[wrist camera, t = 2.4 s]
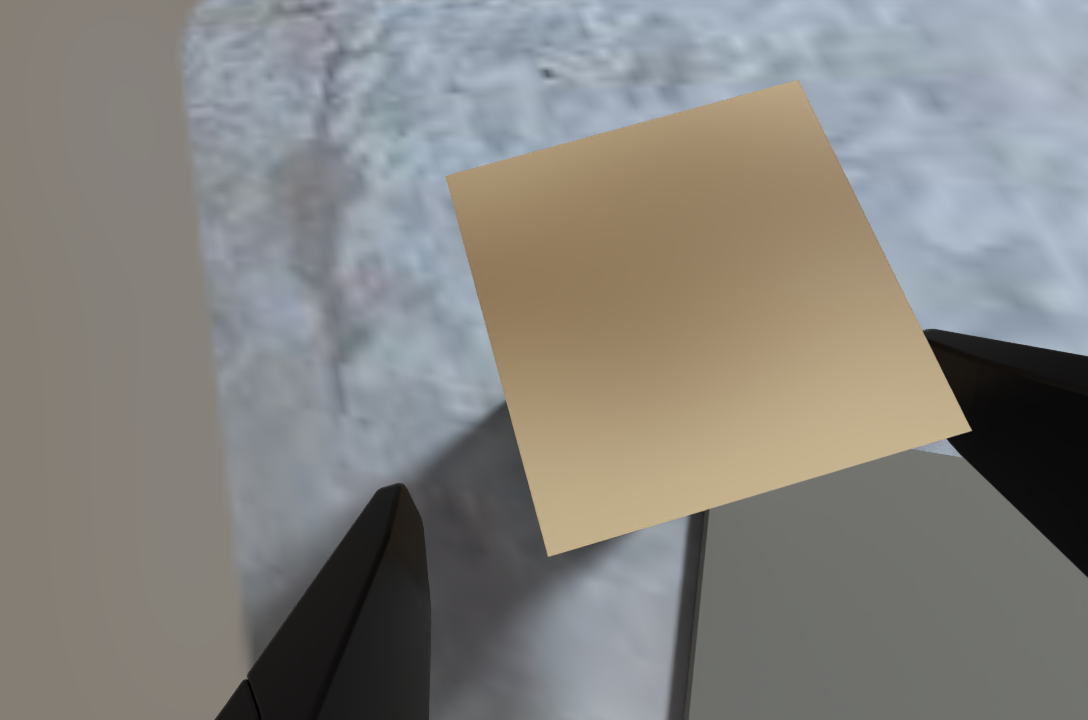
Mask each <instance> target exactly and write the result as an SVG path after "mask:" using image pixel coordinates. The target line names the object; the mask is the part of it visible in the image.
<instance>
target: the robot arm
mask: <svg viewBox="0 0 1088 720" xmlns="http://www.w3.org/2000/svg"><path fill="white" fill-rule="evenodd" d="M923 333H924V335H925V337H926V339H927V341H928V343H929V345H930V347H931V349H932V351H933V353H934V355H935V357H936V359H937V361H938V363H939V365H940V368H941V370H942V372H943V374H944V376H945V378H946V380H947V382H948V384H949V386H950V388H951V390H952V392H953V394H954V396H955V398H956V400H957V402H958V404H959V406H960V408H961V410H962V412H963V414H964V416H965V418H966V420H967V422H968V424H969V426H970V428H971V430H972V431H970V432H966V433H963V434H959V435H956V436H953V437H949V438H946V439H947V440H948V441H949V442H950V444H951V445H952V446H953V447H954V448H955V449H956V450H957V451H958V452H959V454H960V455H961V456H962V457H963V458H964V459H965V460H966V461H967V462H968V463H969V464H970V465H971V466H972V467H973V468H974V469H975V470H976V471H978V472H979V473H980V474H981V475H982V476H983V477H984V478H985V479H986V480H987V481H988V482H989V483H990V484H991V485H992V486H993V487H994V488H995V489H996V490H997V491H998V492H999V493H1000V494H1001V495H1002V496H1003V497H1004V498H1005V499H1006V500H1008V501H1009V502H1010V503H1011V504H1012V505H1013V506H1014V507H1015V508H1016V509H1017V510H1018V511H1019V512H1020V513H1021V514H1022V515H1023V516H1024V517H1025V518H1026V519H1027V520H1028V521H1029V522H1030V523H1031V524H1032V525H1033V526H1034V527H1035V528H1037V529H1038V530H1039V531H1040V532H1041V533H1042V534H1043V535H1044V536H1045V537H1046V538H1047V539H1048V540H1049V541H1050V542H1051V543H1052V544H1053V545H1054V546H1055V547H1056V548H1057V549H1058V550H1059V551H1060V552H1061V553H1062V554H1063V555H1064V556H1065V557H1067V558H1068V559H1069V560H1070V561H1071V562H1072V563H1073V564H1074V565H1075V566H1076V567H1077V568H1078V569H1079V570H1080V571H1081V572H1082V573H1083V574H1084V575H1085V576H1086V577H1087V578H1088V356H1084V355H1078V354H1072V353H1067V352H1061V351H1056V350H1050V349H1044V348H1039V347H1033V346H1027V345H1022V344H1016V343H1011V342H1005V341H999V340H994V339H988V338H983V337H977V336H971V335H966V334H960V333H954V332H949V331H943V330H938V329H926V330H923ZM430 656H431V603H430V591H429V581H428V570H427V560H426V549H425V539H424V528H423V523H422V519H421V516H420V514H419V512H418V510H417V508H416V506H415V504H414V502H413V500H412V498H411V496H410V494H409V492H408V489H407V488H406V486H405V485H404V484H402V483H396V484H393V485H389V486H386V487H383V488H380V489H379V490H378V491H377V492H376V493H375V494H374V496H373V497H372V499H371V500H370V501H369V503H368V504H367V506H366V507H365V508H364V510H363V511H362V513H361V514H360V516H359V517H358V518H357V520H356V521H355V523H354V524H353V525H352V527H351V528H350V530H349V531H348V533H347V534H346V535H345V537H344V538H343V540H342V541H341V542H340V544H339V545H338V547H337V548H336V550H335V551H334V552H333V554H332V555H331V557H330V558H329V559H328V561H327V562H326V564H325V565H324V567H323V568H322V569H321V571H320V572H319V574H318V575H317V576H316V578H315V579H314V581H313V582H312V583H311V585H310V586H309V588H308V589H307V591H306V592H305V593H304V595H303V596H302V598H301V599H300V600H299V602H298V603H297V605H296V606H295V608H294V609H293V610H292V612H291V613H290V615H289V616H288V617H287V619H286V620H285V622H284V623H283V625H282V626H281V627H280V629H279V630H278V632H277V633H276V634H275V636H274V637H273V639H272V640H271V642H270V643H269V644H268V646H267V647H266V649H265V650H264V651H263V653H262V654H261V656H260V657H259V659H258V660H257V661H256V663H255V664H254V666H253V667H252V668H251V670H250V671H249V673H248V674H247V678H248V680H247V679H245V680H243V681H242V682H241V684H240V685H239V687H238V688H237V689H236V691H235V692H234V694H233V695H232V696H231V698H230V699H229V701H228V702H227V704H226V705H225V706H224V708H223V709H222V710H221V712H220V713H219V715H218V716H217V717H216V719H215V720H429V699H430Z"/></svg>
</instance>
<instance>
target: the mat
mask: <svg viewBox="0 0 1088 720" xmlns="http://www.w3.org/2000/svg"><path fill="white" fill-rule="evenodd" d="M683 720H1088V578H1087V577H1086V576H1085V575H1084V574H1083V573H1082V572H1081V571H1080V570H1079V569H1078V568H1077V567H1076V566H1075V565H1074V564H1073V563H1072V562H1071V561H1070V560H1069V559H1068V558H1067V557H1065V556H1064V555H1063V554H1062V553H1061V552H1060V551H1059V550H1058V549H1057V548H1056V547H1055V546H1054V545H1053V544H1052V543H1051V542H1050V541H1049V540H1048V539H1047V538H1046V537H1045V536H1044V535H1043V534H1042V533H1041V532H1040V531H1039V530H1038V529H1037V528H1035V527H1034V526H1033V525H1032V524H1031V523H1030V522H1029V521H1028V520H1027V519H1026V518H1025V517H1024V516H1023V515H1022V514H1021V513H1020V512H1019V511H1018V510H1017V509H1016V508H1015V507H1014V506H1013V505H1012V504H1011V503H1010V502H1009V501H1008V500H1006V499H1005V498H1004V497H1003V496H1002V495H1001V494H1000V493H999V492H998V491H997V490H996V489H995V488H994V487H993V486H992V485H991V484H990V483H989V482H988V481H987V480H986V479H985V478H984V477H983V476H982V475H981V474H980V473H979V472H978V471H976V470H975V469H974V468H973V467H972V466H971V465H970V464H969V463H968V462H967V461H966V460H965V459H964V458H961V457H955V456H949V455H943V454H937V453H931V452H925V451H919V450H913V449H909V450H906V451H902V452H899V453H896V454H892V455H889V456H886V457H882V458H879V459H876V460H872V461H869V462H865V463H862V464H859V465H855V466H852V467H849V468H845V469H842V470H839V471H835V472H832V473H828V474H825V475H822V476H818V477H815V478H812V479H808V480H805V481H802V482H798V483H795V484H792V485H788V486H785V487H781V488H778V489H775V490H771V491H768V492H765V493H761V494H758V495H755V496H751V497H748V498H745V499H741V500H738V501H734V502H731V503H728V504H724V505H721V506H718V507H714V508H711V509H708V510H705V512H704V522H703V531H702V541H701V551H700V561H699V571H698V581H697V591H696V601H695V611H694V620H693V630H692V640H691V650H690V660H689V670H688V680H687V690H686V700H685V709H684V719H683Z"/></svg>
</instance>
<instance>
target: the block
mask: <svg viewBox="0 0 1088 720" xmlns="http://www.w3.org/2000/svg"><path fill="white" fill-rule="evenodd" d="M446 180H447V183H448V187H449V191H450V194H451V198H452V202H453V206H454V209H455V213H456V217H457V220H458V224H459V228H460V232H461V235H462V239H463V243H464V246H465V250H466V254H467V258H468V261H469V265H470V269H471V272H472V276H473V280H474V284H475V287H476V291H477V295H478V298H479V302H480V306H481V309H482V313H483V317H484V321H485V324H486V328H487V332H488V335H489V339H490V343H491V347H492V350H493V354H494V358H495V361H496V365H497V369H498V373H499V376H500V380H501V384H502V387H503V391H504V395H505V399H506V402H507V406H508V410H509V413H510V417H511V421H512V424H513V428H514V432H515V436H516V439H517V443H518V447H519V450H520V454H521V458H522V462H523V465H524V469H525V473H526V476H527V480H528V484H529V488H530V491H531V495H532V499H533V502H534V506H535V510H536V514H537V517H538V521H539V525H540V528H541V532H542V536H543V539H544V543H545V547H546V551H547V554H548V557H550V556H553V555H556V554H560V553H563V552H566V551H570V550H573V549H577V548H580V547H583V546H587V545H590V544H593V543H597V542H600V541H603V540H607V539H610V538H614V537H617V536H620V535H624V534H627V533H630V532H634V531H637V530H640V529H644V528H647V527H650V526H654V525H657V524H661V523H664V522H667V521H671V520H674V519H677V518H681V517H684V516H687V515H691V514H694V513H697V512H701V511H704V510H708V509H711V508H714V507H718V506H721V505H724V504H728V503H731V502H734V501H738V500H741V499H745V498H748V497H751V496H755V495H758V494H761V493H765V492H768V491H771V490H775V489H778V488H781V487H785V486H788V485H792V484H795V483H798V482H802V481H805V480H808V479H812V478H815V477H818V476H822V475H825V474H828V473H832V472H835V471H839V470H842V469H845V468H849V467H852V466H855V465H859V464H862V463H865V462H869V461H872V460H876V459H879V458H882V457H886V456H889V455H892V454H896V453H899V452H902V451H906V450H909V449H912V448H916V447H919V446H923V445H926V444H929V443H933V442H936V441H939V440H943V439H946V438H949V437H953V436H956V435H959V434H963V433H966V432H970V431H972V430H971V428H970V426H969V424H968V422H967V420H966V418H965V416H964V414H963V412H962V410H961V408H960V406H959V404H958V402H957V400H956V398H955V396H954V394H953V392H952V390H951V388H950V386H949V384H948V382H947V380H946V378H945V376H944V374H943V372H942V370H941V368H940V365H939V363H938V361H937V359H936V357H935V355H934V353H933V351H932V349H931V347H930V345H929V343H928V341H927V339H926V337H925V335H924V333H923V331H922V329H921V327H920V325H919V323H918V321H917V319H916V317H915V315H914V313H913V311H912V309H911V307H910V305H909V303H908V301H907V299H906V297H905V295H904V293H903V291H902V289H901V287H900V285H899V283H898V281H897V279H896V276H895V274H894V272H893V270H892V268H891V266H890V264H889V262H888V260H887V258H886V256H885V254H884V252H883V250H882V248H881V246H880V244H879V242H878V240H877V238H876V236H875V234H874V232H873V230H872V228H871V226H870V224H869V222H868V220H867V218H866V216H865V214H864V212H863V210H862V208H861V206H860V204H859V202H858V200H857V198H856V196H855V194H854V192H853V189H852V187H851V185H850V183H849V181H848V179H847V177H846V175H845V173H844V171H843V169H842V167H841V165H840V163H839V161H838V159H837V157H836V155H835V153H834V151H833V149H832V147H831V145H830V143H829V141H828V139H827V137H826V135H825V133H824V131H823V129H822V127H821V125H820V123H819V121H818V119H817V117H816V115H815V113H814V111H813V109H812V107H811V105H810V102H809V100H808V98H807V96H806V94H805V92H804V90H803V88H802V86H801V84H800V82H799V80H797V81H793V82H789V83H786V84H782V85H778V86H774V87H771V88H767V89H763V90H760V91H756V92H752V93H749V94H745V95H741V96H738V97H734V98H730V99H727V100H723V101H719V102H716V103H712V104H708V105H705V106H701V107H697V108H694V109H690V110H686V111H683V112H679V113H675V114H672V115H668V116H664V117H661V118H657V119H653V120H649V121H646V122H642V123H638V124H635V125H631V126H627V127H624V128H620V129H616V130H613V131H609V132H605V133H602V134H598V135H594V136H591V137H587V138H583V139H580V140H576V141H572V142H569V143H565V144H561V145H558V146H554V147H550V148H547V149H543V150H539V151H536V152H532V153H528V154H524V155H521V156H517V157H513V158H510V159H506V160H502V161H499V162H495V163H491V164H488V165H484V166H480V167H477V168H473V169H469V170H466V171H462V172H458V173H455V174H451V175H447V176H446Z"/></svg>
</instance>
